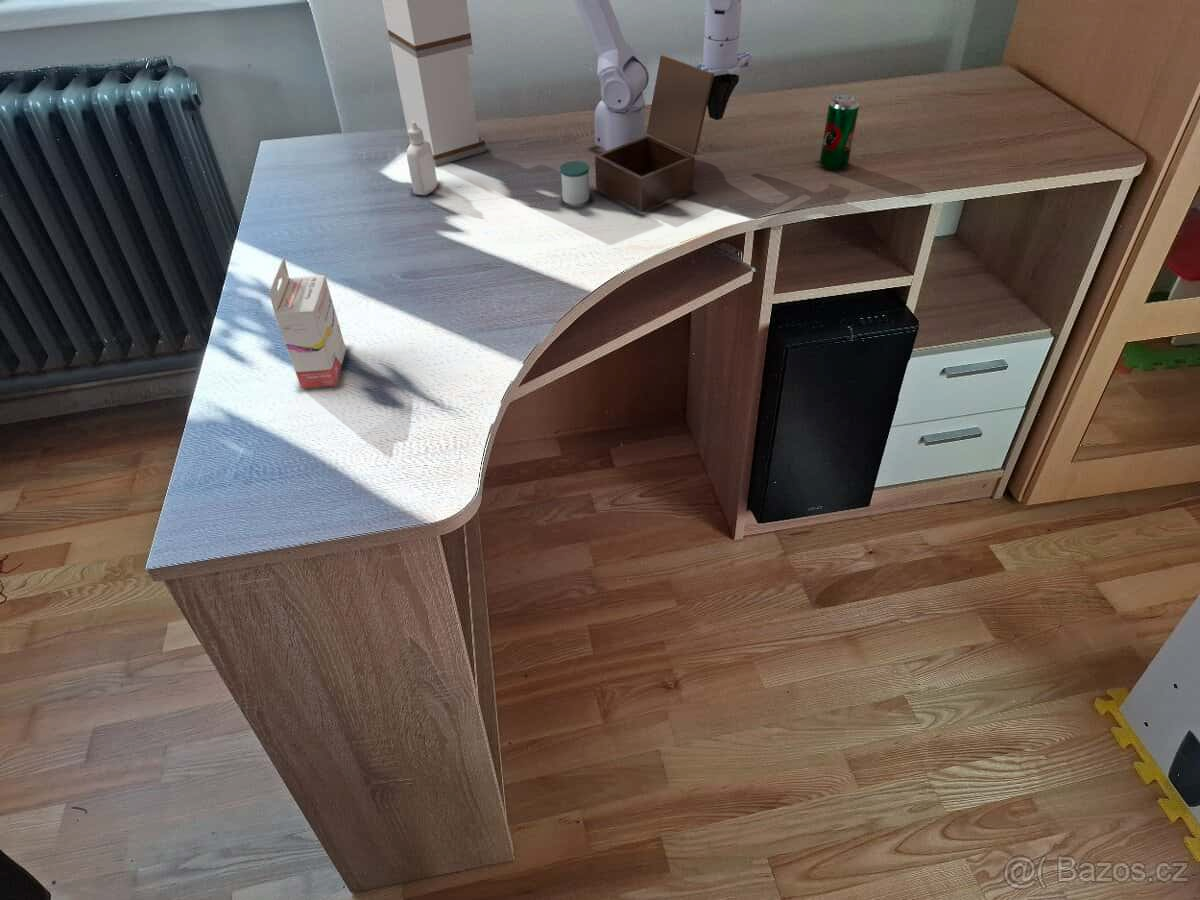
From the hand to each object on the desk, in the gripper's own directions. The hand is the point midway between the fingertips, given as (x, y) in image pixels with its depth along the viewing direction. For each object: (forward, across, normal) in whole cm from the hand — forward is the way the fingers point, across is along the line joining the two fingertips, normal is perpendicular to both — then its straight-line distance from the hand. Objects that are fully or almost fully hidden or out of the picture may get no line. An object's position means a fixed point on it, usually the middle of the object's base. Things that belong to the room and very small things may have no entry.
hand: (715, 117), depth 144 cm
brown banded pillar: (+9, -33, +40) cm, 52 cm away
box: (+8, -17, 0) cm, 19 cm away
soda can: (+9, +15, -16) cm, 23 cm away
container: (+8, -28, +6) cm, 29 cm away
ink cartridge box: (+9, -82, -8) cm, 83 cm away
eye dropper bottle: (+9, -45, +28) cm, 53 cm away
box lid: (-5, -10, 0) cm, 11 cm away
